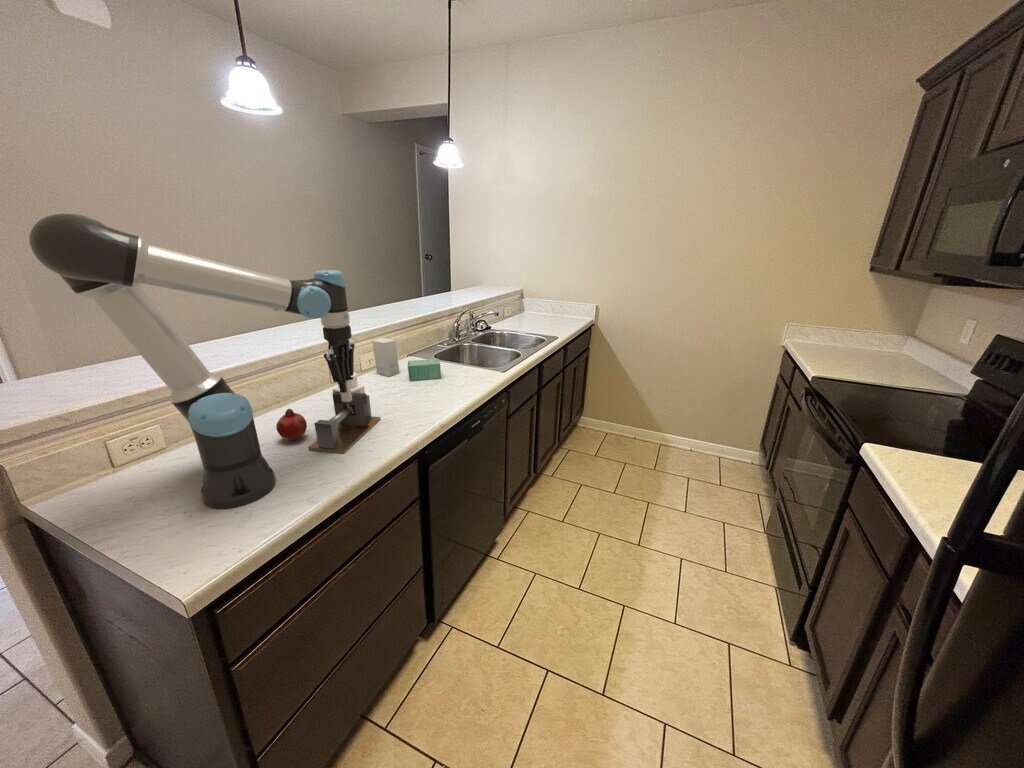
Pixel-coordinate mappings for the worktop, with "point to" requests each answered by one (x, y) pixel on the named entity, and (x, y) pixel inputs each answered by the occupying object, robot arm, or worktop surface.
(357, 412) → the collar
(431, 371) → the box
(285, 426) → the fruit
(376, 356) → the skincare box
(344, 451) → the pipe rig
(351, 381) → the container
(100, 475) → the worktop surface
